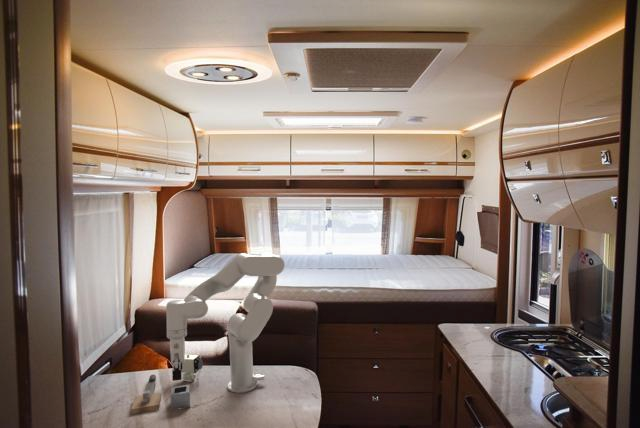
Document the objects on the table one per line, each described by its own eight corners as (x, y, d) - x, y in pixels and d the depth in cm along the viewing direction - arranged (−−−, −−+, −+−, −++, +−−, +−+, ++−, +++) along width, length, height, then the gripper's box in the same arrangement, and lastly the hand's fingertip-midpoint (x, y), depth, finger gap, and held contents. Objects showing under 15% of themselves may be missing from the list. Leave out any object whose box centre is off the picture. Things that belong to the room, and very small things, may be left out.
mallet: (164, 378, 185) (164, 367, 185) (159, 409, 159) (158, 395, 159) (141, 382, 182) (140, 370, 182) (131, 414, 156) (130, 400, 156)
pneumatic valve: (198, 383, 180) (197, 357, 179) (174, 382, 182) (173, 355, 181) (204, 378, 185) (203, 352, 184) (181, 376, 187) (180, 350, 187)
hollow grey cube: (190, 398, 167) (189, 384, 167) (190, 407, 160) (189, 392, 160) (172, 401, 165) (171, 387, 165) (171, 410, 158) (170, 395, 158)
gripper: (186, 338, 153) (187, 383, 154) (187, 324, 170) (188, 364, 171) (165, 340, 151) (165, 385, 152) (168, 326, 168) (169, 367, 169)
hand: (177, 374), depth 161 cm, fingers open, 9 cm apart
